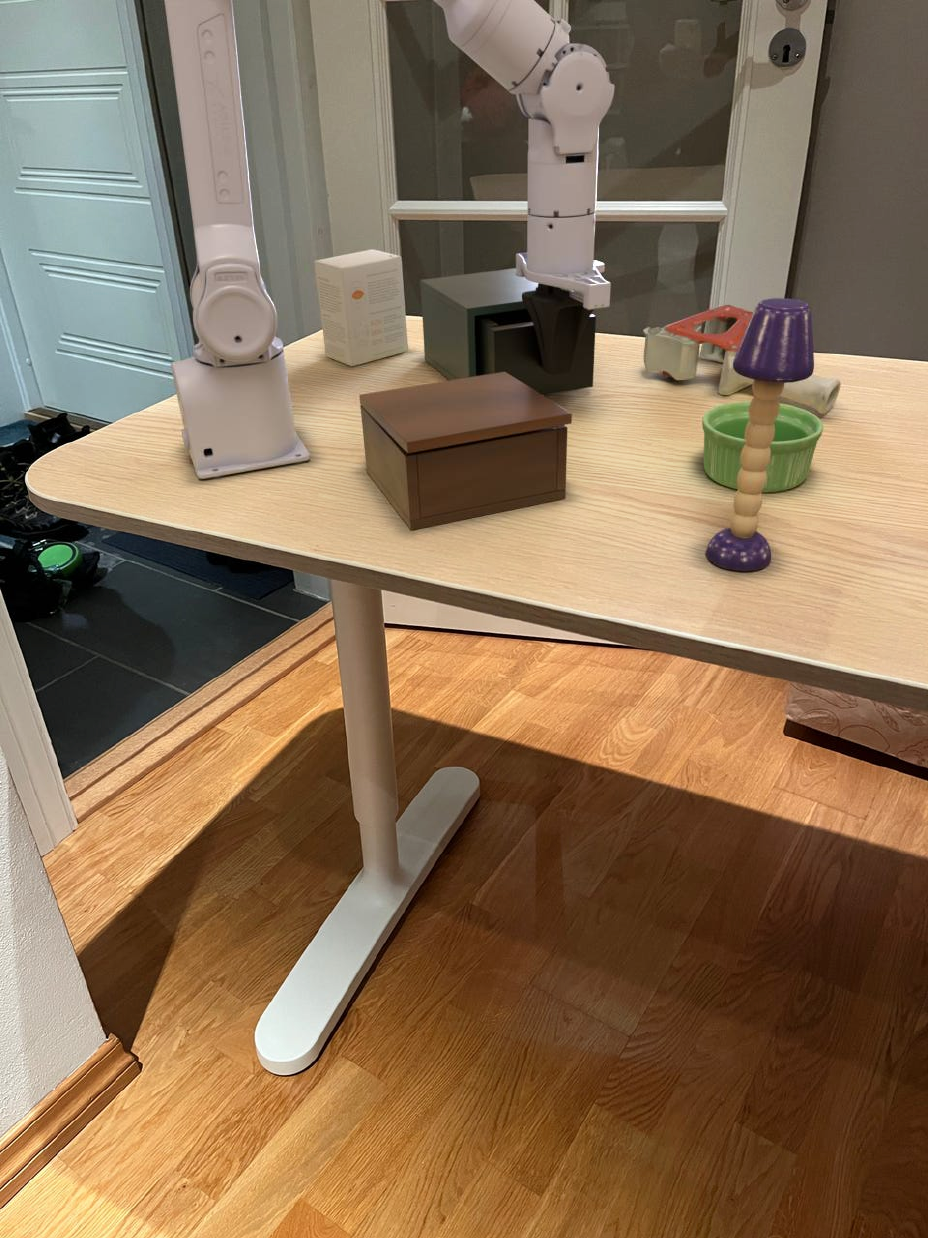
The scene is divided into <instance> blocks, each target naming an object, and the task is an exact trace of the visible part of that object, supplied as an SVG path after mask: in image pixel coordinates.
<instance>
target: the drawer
mask: <svg viewBox="0 0 928 1238" xmlns="http://www.w3.org/2000/svg"><path fill="white" fill-rule="evenodd" d="M474 317H475V350H476V376H481V375H487V374H494V373H500V372H506V373H508V374H509V375H511V376H513V377H514V378H516V379H517V380H519V381H521V382H522V383H524V384H525V385H527V386H529V387H530V388H532V389H533V390H535V391H537V392H538V393H540V394H542V395H543V396H547V395H553V394H559V393H564V392H570V391H578V390H581V389H588V388H593V387H594V374H595V373H594V372H595V371H594V370H595V369H594V368H595V350H596V349H595V347H596V324H597V323H596V322H597V316H596V315H594V314H591V315H590V317H589V319H588V321H587V323H586V325H585V327H584V330H583V332H582V335H581V338H580V341H579V344H578V347H577V351H576V355H575V358H574V362H573V366H572V369H571V372H570V373H564V374H557V375H550V374H548V373H547V372H545V369H544V366H543V362H542V357H541V352H540V348H539V343H538V339H537V334H536V331H535V328H534V324H533V322H532V319H531V316H530V314H529V312H528V310H527V309H522V310H515V311H508V312H500V313H493V314H486V315H479V316H474Z"/></svg>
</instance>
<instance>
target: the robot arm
mask: <svg viewBox="0 0 928 1238" xmlns="http://www.w3.org/2000/svg"><path fill="white" fill-rule="evenodd" d="M163 1H164V8H165V16H166V23H167V31H168V39H169V46H170V48H169V49H170V55H171V63H172V68H173V69H172V71H173V77H174V85H175V86H174V87H175V93H176V102H177V110H178V116H179V125H180V133H181V141H182V148H183V155H184V163H185V172H186V180H187V187H188V195H189V204H190V210H191V217H192V227H193V236H194V243H195V244H194V245H195V251H196V253H195V254H196V267H195V271H194V273H193V276H192V278H191V281H190V286H189V298H190V304H191V306H192V322H193V328H194V331H195V334H196V336H197V338H198V343H196V344H195V345H194V346H193V356H190V357H188V358H185V359H182V360H176V361H172V362H171V363H170V368H171V373H172V374H171V375H172V379H173V384H174V389H175V393H176V394H175V395H176V398H177V403H178V408H179V412H180V417H181V422H182V427H183V428H182V429H181V430H180V431H181V437H182V441H183V445H184V449H185V451H188V453H189V456H190V459H191V461H192V464H193V467H194V470H195V473H196V476H197V478H198V479H200V480H204V479H210V478H215V477H216V478H217V477H223V476H227V475H231V474H232V475H234V474H239V473H244V472H250V471H255V470H261V469H267V468H272V467H279V466H285V465H291V464H295V463H301V462H306V461H309V460H310V459H311V455H310V452H309V451H308V450H307V448H306V446H305V445H304V443H303V442H302V440H301V439H300V437H299V436H298V434H297V433H296V426H295V418H294V412H293V406H292V398H291V397H292V396H291V391H290V384H289V377H288V370H287V364H286V355H285V350H284V343H283V341H282V339H281V338H279V337H277V336H276V334H277V331H278V314H277V309H276V306H275V305H274V302H273V300H272V299H271V297H270V296H269V294H268V292H267V287H266V284H265V283H264V280H263V278H262V275H261V265H260V258H259V253H258V252H259V251H258V246H257V241H256V233H255V226H254V225H255V224H254V215H253V204H252V195H251V194H252V193H251V185H250V173H249V163H248V154H247V143H246V133H245V121H244V111H243V102H242V101H243V100H242V90H241V81H240V80H241V79H240V71H239V70H240V69H239V59H238V50H237V49H238V48H237V39H236V28H235V19H234V7H233V0H163ZM432 1H433V2H435V3H436V5H438V6H439V7H441V8H442V10H443V13H444V18H445V24H446V30H447V35H448V39H449V41H450V42H451V43H453V45H455V46H456V47H458V49H460V50H461V51H462V52H463V53H464V54H465V55H467V56H468V57H469V58H470V59H471V60H472V61H473V62H475V64H476V65H478V66H479V67H480V68H482V70H484V71H485V72H486V73H487V74H488V75H489V76H490V77H491V78H493V79H494V80H495V81H496V82H497V83H499V84H500V85H501V86H502V87H503V88H504V89H506V91H508V93H510V94H512V95H515V96H516V100H517V104H518V107H519V109H520V111H521V113H522V114H523V115H524V116H525V117H526V118H528V124H527V125H528V129H527V131H528V132H527V133H528V136H527V137H528V139H527V140H528V142H527V144H528V145H527V146H528V147H527V148H528V149H527V216H526V217H527V218H526V219H527V220H526V221H527V224H526V225H527V226H526V227H527V228H526V233H527V234H526V252H519V253H518V252H517V253H516V254H515V268H516V275H517V276H519V277H525V278H526V279H527V280H529V281H531V282H535V283H538V287H536V290H534V291H527V292H524V293H522V301H523V302H524V304H525V306H526V308H527V310H528V312H529V314H530V316H531V319H532V322H533V324H534V328H535V331H536V334H537V339H538V343H539V348H540V352H541V357H542V362H543V366H544V369H545V372H547V373H548V374H550V375H557V374H564V373H570V372H571V369H572V366H573V362H574V358H575V355H576V351H577V347H578V344H579V341H580V338H581V335H582V332H583V330H584V327H585V325H586V323H587V321H588V319H589V317H590V315H591V314H592V313H593V312H594V311H595V310H596V309H602V308H603V309H604V308H609V307H610V305H611V289H612V283H611V281H608V280H606V279H604V277H603V276H602V274H601V273H604V272H605V271H606V270H605V269H606V267H605V266H606V265H605V263H604V262H602V261H598V260H594V257H595V234H596V211H597V191H598V190H597V189H598V188H597V187H598V166H599V165H598V164H599V131H600V124H601V122H602V120H603V119H604V117H605V116H606V115H607V113H608V111H609V109H610V107H611V104H612V102H613V100H614V94H615V87H616V86H615V84H613V83H611V80H610V73H609V71H607V69H606V68H607V67H608V65H607V64H606V61H605V60H604V58H603V56H602V55H601V54H600V53H599V51H597V50H596V49H595V48H594V47H592V46H590V45H588V44H585V43H570V35H569V34H570V33H571V30H572V26H571V25H570V24H569V23H568V22H567V21H566V20H565V19H564V18H557V19H556V20H555V19H554V18H553V16H551V15H550V14H549V13H548V12H547V11H546V10H545V9H544V8H543V7H542V6H540V4H539V3H537V2H536V0H432ZM592 315H593V314H592Z"/></svg>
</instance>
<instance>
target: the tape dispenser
mask: <svg viewBox="0 0 928 1238" xmlns="http://www.w3.org/2000/svg"><path fill="white" fill-rule="evenodd" d="M753 312H754V311H749V310H746V309H743V308H740V307H736V306H734V305H731V304H724V305H721V306H717V307H713V308H712V307H711V308H708V309H706V310H705V311H703V312H699V313H697V314H693V315H691V316H688V317H687V318H683V319H682V320H678V321H674V322H672V323H670V324H667V325H665V326H663V327H659V326H656V327H653V328H651V327H650V326H648V327H646V328H644V329H643V333H644V334H645V337H644V347H643V364H644V369H645V371H646V372H655V371H661V376H663V377H666V376H668V377H670V378H672V379H673V380H675V381H687V380H692V379H694V378H695V377H696V373H697V368H698V361H699V356H700V358H703V359H705V360H711V361H714V362H718V363H722V368H721V372H720V373H721V375H720V380H719V385H718V390H717V392H718V394H719V395H722V396H731V395H733V394H734V393H737V392H740V391H741V390H743V389H745V388H747V387H749V386H751V385H753V381H754V379H750V378H747V377H744V376H742V375H739V374H738V373H737V372H735V370H734V369H733V361H734V358H735V355H736V353H737V350H738V348H739V345H740V343H741V340H742V338H743V336H744V333H745V331H746V329H747V326H748V324H749V322H750V319H751V317H752V315H753ZM704 323H705V326H704V330H703V332H702V327H703V326H702V325H703V324H704ZM700 346H701V347H700ZM841 384H842V383H841V380H839V379H838V378H827V377H822V376H819V375H817V374H814V373H812V375H811V376H810V377H809V378H807V379H805V380H801V381H797V382H792V383H790V382H788V383H784V388H783V391H782V394H781V395H780V396H779V397H783V398H786V399H788V400H791V401H793V402H797V403H800V404H803V405H805V406H808V407H811V409H812V408H813V409H814V410H815V411H817V413H819V414H820V415H825V414H826V413H827V412H828V411H829V410H830V409H831V408H833V406H834V405H835V403H836V401H837V399H838V397H839V393H840V390H841Z"/></svg>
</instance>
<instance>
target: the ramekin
mask: <svg viewBox="0 0 928 1238" xmlns="http://www.w3.org/2000/svg"><path fill="white" fill-rule="evenodd" d="M751 401H752V400H744V401H735V402H728V403H723V404H720V405H719V404H718V405H717V406H714V407H711V408H710V409H709V410H707V411H706V412H705V413H704V414H703V416H702V419H701V425H702V430H703V469H704V471H705V473H706V475H707V476H708V477H709V478H710V479H711V480H712V481H714V482H716V483H718V484H720V485H723V486H724V487H728V488H731V489H734V490H738V486H737V477H738V473H739V471H740V469H741V468H742V464H741V452H742V449H743V447H744V446H745V444H746V441H745V430H746V426H747V424H748V422H749V421H750V418H749V405H750V403H751ZM779 404H780V408H779V413H778V416H777V418H776V420H775V421H774V426H775V435H774V439H773V441H772V443H771V444H770V450H771V457H770V462H769V464H768V466H767V467H766V469H765V470H766V474H767V480H766V484H765V487H764V488H763V490H762V491H761V493H775V492H783V491H787V490H790V489H793V488H795V487H798V486H800V485H801V484H802V483H803V482H805V481H806V479H807V477H808V475H809V472H810V469H811V466H812V465H811V464H812V461H813V458H814V454H815V450H816V448H817V445H818V444H817V443H818V442H819V440H820V438H821V437H822V434H823V432H824V423H823V422H822V420H821V419H820V418H819V417H818V416H817V415H815V414H814V413H811V412H810V411H808V410H805V409H803V408H800V407H797V406H794V405H790V404H785V403H781V402H779Z"/></svg>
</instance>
